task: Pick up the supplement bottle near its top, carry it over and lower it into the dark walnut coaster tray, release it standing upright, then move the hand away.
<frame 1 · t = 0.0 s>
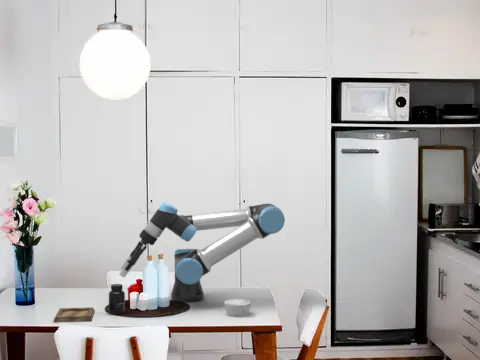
hand: (122, 272, 315), 15 cm above the table, tool tilted 35°, fingers open, 13 cm apart
ramekin: (237, 314, 306), on the table
supplement bottle: (116, 313, 308), on the table
walnut tray: (74, 316, 301), on the table
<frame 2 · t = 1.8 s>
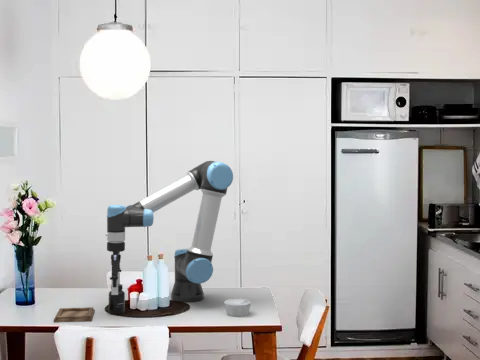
hand: (115, 291, 307), 9 cm above the table, tool pointing down, fingers open, 13 cm apart
nothing on the table moved.
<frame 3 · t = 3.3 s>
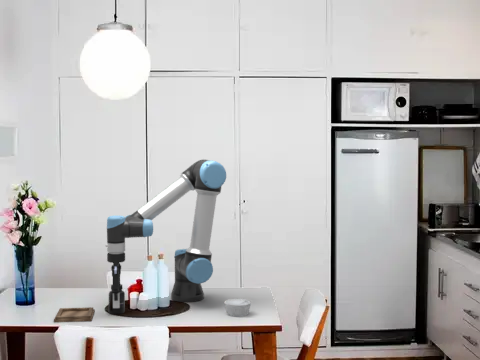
hand: (116, 305, 307), 3 cm above the table, tool pointing down, fingers closed on supplement bottle, 7 cm apart
supplement bottle: (116, 313, 308), on the table, touching gripper
everything else where it was.
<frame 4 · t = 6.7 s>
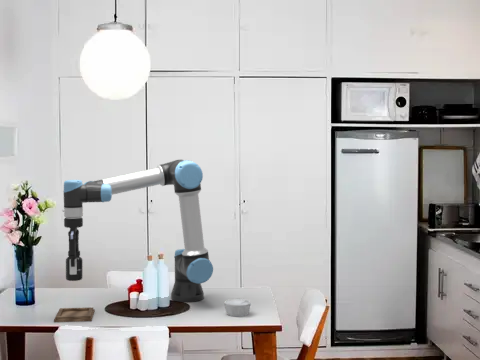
hand: (74, 272, 299), 19 cm above the table, tool pointing down, fingers closed on supplement bottle, 7 cm apart
supplement bottle: (74, 279, 299), point 16 cm above the table, touching gripper
everything else where it was.
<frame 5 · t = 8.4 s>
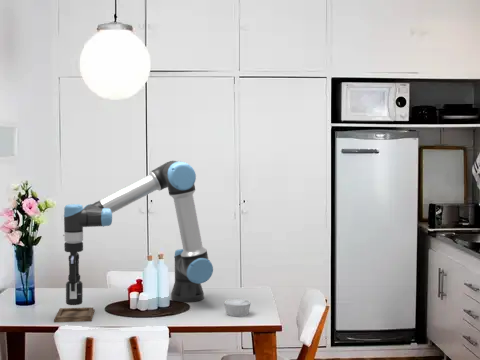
hand: (74, 296, 300), 9 cm above the table, tool pointing down, fingers closed on supplement bottle, 7 cm apart
supplement bottle: (74, 304, 300), point 5 cm above the table, touching gripper
everything else where it was.
when the fingers open (5 cm above the table, at t = 9.9 s): supplement bottle drops 1 cm, resting on walnut tray.
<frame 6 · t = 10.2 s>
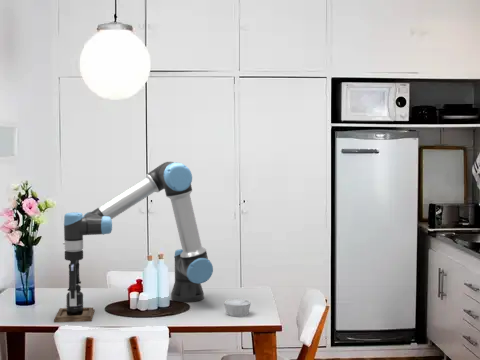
hand: (74, 302, 300), 6 cm above the table, tool pointing down, fingers open, 10 cm apart
supplement bottle: (75, 314, 301), point 1 cm above the table, touching walnut tray
everything else where it was.
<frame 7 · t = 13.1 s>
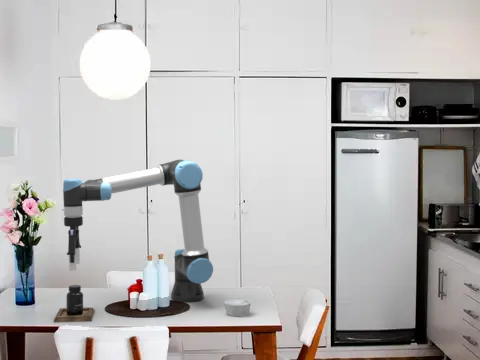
hand: (74, 267, 299), 21 cm above the table, tool pointing down, fingers open, 13 cm apart
nothing on the table moved.
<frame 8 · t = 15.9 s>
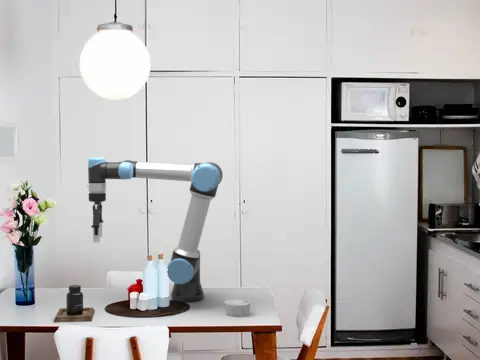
hand: (97, 239, 321), 29 cm above the table, tool pointing down, fingers open, 13 cm apart
nothing on the table moved.
at the end: supplement bottle 0.2 cm off-centre on the walnut tray, point 0.8 cm above the walnut tray's base; supplement bottle tilted 0°; the gripper is holding nothing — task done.
